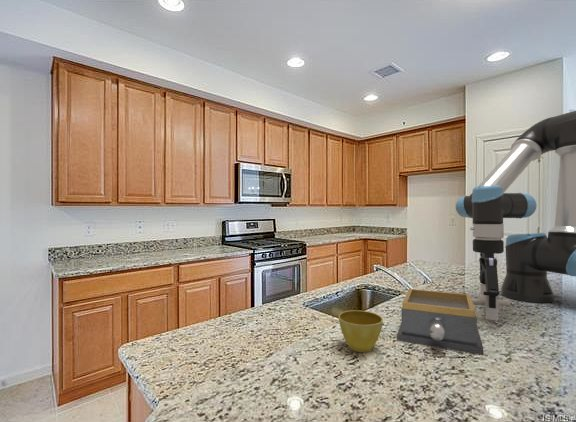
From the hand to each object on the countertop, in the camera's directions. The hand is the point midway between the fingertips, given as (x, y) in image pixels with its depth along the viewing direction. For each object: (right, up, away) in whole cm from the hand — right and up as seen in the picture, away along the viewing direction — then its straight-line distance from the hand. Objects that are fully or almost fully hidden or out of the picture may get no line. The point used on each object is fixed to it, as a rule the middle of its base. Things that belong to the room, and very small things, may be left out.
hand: (488, 312), depth 87 cm
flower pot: (-41, -3, -17) cm, 45 cm away
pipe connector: (0, -2, 0) cm, 2 cm away
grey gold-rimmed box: (-20, -2, -11) cm, 23 cm away
